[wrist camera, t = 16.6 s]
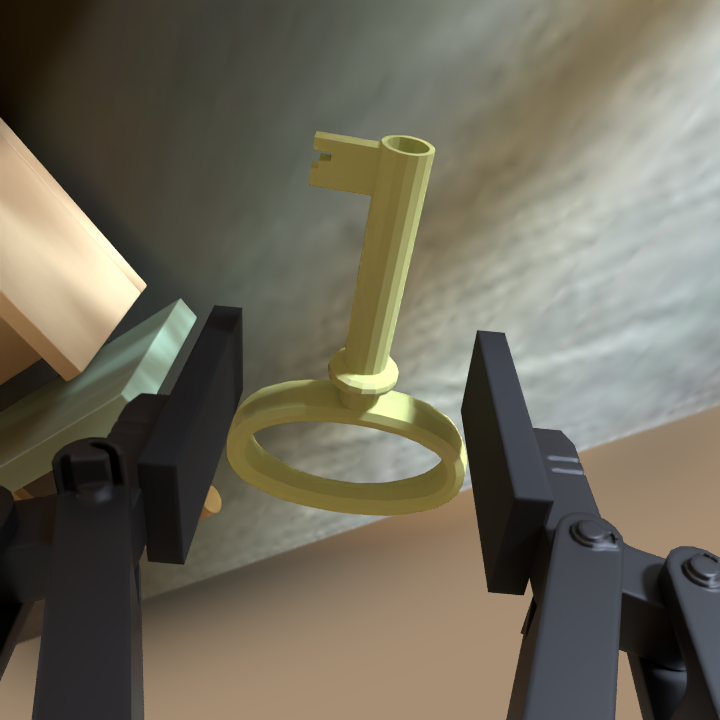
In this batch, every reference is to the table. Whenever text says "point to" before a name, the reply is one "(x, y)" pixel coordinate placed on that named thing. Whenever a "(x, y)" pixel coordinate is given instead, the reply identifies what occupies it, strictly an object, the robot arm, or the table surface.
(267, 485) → the key
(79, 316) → the drawer
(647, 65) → the table surface
